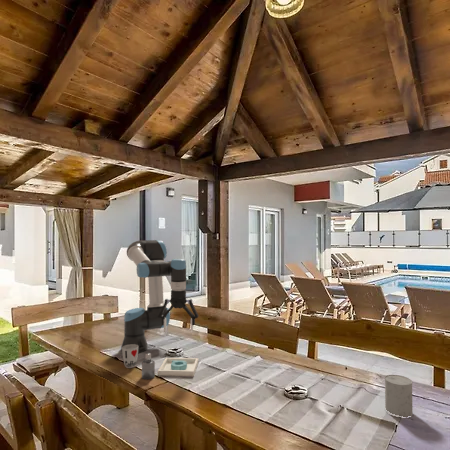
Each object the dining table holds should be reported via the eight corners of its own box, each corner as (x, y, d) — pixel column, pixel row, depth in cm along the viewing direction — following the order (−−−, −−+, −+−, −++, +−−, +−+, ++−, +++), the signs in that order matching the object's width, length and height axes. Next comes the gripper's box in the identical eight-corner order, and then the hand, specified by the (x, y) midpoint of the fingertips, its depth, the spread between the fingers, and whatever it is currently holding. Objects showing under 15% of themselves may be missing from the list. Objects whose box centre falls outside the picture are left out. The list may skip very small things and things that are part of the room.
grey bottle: (143, 374, 172) (143, 351, 172) (156, 374, 172) (156, 351, 172) (140, 379, 166) (140, 355, 166) (152, 379, 166) (152, 356, 166)
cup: (122, 369, 178) (122, 350, 178) (122, 364, 186) (122, 345, 186) (138, 368, 180) (138, 348, 180) (138, 362, 188) (138, 343, 188)
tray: (165, 362, 187) (165, 357, 188) (198, 363, 187) (198, 358, 187) (157, 376, 170) (157, 370, 170) (193, 376, 169) (193, 371, 169)
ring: (189, 368, 178) (189, 363, 178) (177, 372, 173) (177, 367, 173) (179, 363, 185) (179, 358, 185) (166, 367, 180) (166, 362, 180)
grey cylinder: (404, 405, 140) (403, 374, 141) (418, 418, 131) (417, 384, 131) (380, 406, 140) (380, 374, 140) (392, 418, 130) (392, 385, 131)
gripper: (152, 290, 176) (152, 333, 176) (202, 291, 175) (201, 334, 175) (156, 288, 184) (155, 329, 184) (203, 288, 182) (203, 329, 182)
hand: (178, 331), depth 179 cm, fingers open, 13 cm apart
